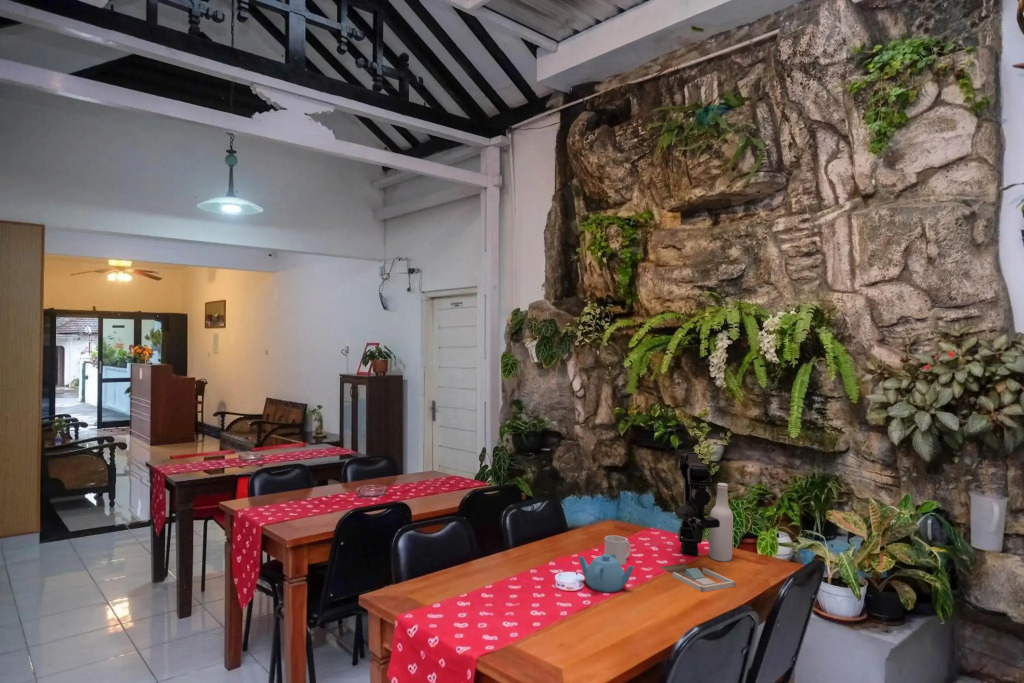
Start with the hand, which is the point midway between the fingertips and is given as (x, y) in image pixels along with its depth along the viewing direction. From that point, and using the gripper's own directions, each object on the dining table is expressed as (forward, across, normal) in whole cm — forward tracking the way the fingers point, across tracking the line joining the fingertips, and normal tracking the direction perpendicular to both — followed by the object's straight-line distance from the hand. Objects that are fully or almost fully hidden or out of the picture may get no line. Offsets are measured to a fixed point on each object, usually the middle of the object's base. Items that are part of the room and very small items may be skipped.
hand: (696, 539), depth 235 cm
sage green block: (+11, +8, -8) cm, 16 cm away
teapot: (+12, +2, -41) cm, 43 cm away
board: (+12, +1, -8) cm, 14 cm away
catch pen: (+11, +13, -7) cm, 19 cm away
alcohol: (+12, -8, +20) cm, 25 cm away
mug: (+12, -15, -24) cm, 31 cm away
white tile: (+12, +14, -8) cm, 20 cm away
